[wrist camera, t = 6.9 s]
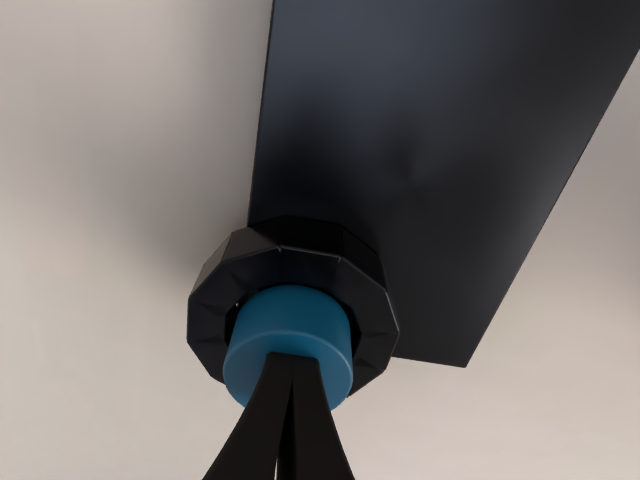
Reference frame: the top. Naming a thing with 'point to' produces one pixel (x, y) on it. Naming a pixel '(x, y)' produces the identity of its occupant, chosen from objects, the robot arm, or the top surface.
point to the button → (290, 339)
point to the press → (412, 163)
